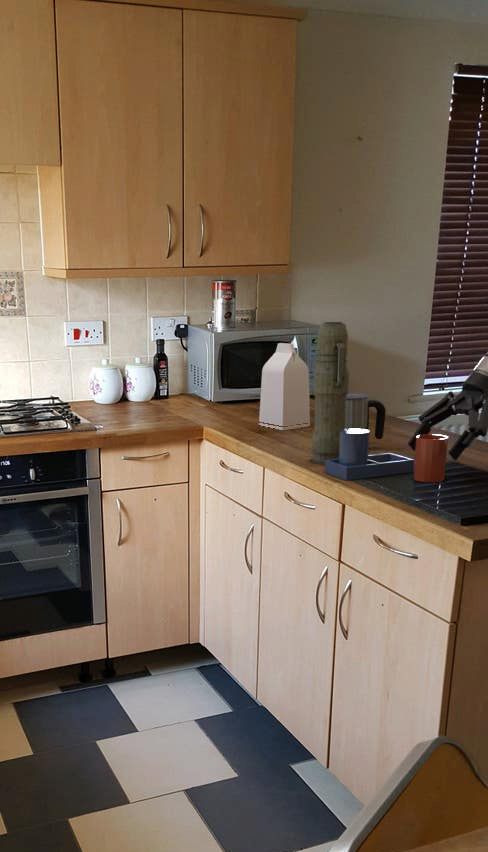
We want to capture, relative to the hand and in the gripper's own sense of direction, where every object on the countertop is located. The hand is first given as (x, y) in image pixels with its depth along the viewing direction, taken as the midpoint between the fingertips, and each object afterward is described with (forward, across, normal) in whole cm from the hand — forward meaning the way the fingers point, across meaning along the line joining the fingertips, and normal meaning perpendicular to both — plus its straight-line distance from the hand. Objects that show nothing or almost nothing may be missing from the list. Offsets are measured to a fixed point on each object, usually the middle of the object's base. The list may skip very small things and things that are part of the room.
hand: (431, 451), depth 204 cm
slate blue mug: (+12, +14, +4) cm, 19 cm away
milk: (-6, +84, -15) cm, 85 cm away
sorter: (+10, +14, 0) cm, 17 cm away
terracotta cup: (+5, 0, -4) cm, 7 cm away
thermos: (+10, +30, 0) cm, 32 cm away
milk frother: (-3, +43, -12) cm, 45 cm away
